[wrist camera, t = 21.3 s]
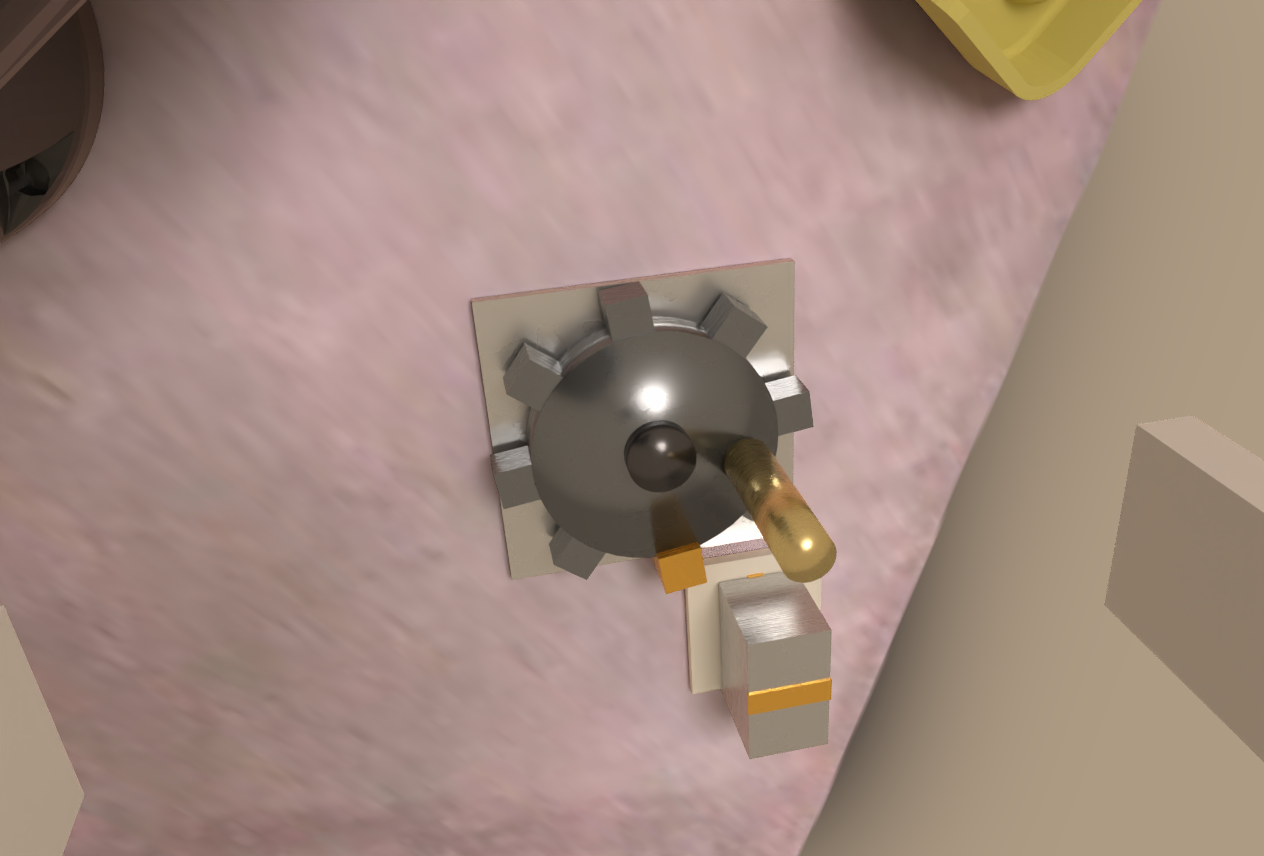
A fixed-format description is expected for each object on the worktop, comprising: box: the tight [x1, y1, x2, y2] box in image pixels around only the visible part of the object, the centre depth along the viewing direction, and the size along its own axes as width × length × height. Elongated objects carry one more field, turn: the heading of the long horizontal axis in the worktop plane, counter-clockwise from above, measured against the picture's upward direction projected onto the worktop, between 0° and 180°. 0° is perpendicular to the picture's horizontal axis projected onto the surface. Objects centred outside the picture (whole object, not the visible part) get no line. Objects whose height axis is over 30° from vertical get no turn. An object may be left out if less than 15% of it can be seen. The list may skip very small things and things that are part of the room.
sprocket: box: [490, 281, 836, 594], centre depth 42 cm, size 14×14×10 cm
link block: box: [719, 572, 832, 759], centre depth 51 cm, size 4×7×5 cm, turn 4°
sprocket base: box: [471, 258, 795, 580], centre depth 47 cm, size 14×14×1 cm
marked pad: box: [685, 548, 821, 694], centre depth 53 cm, size 7×8×1 cm
